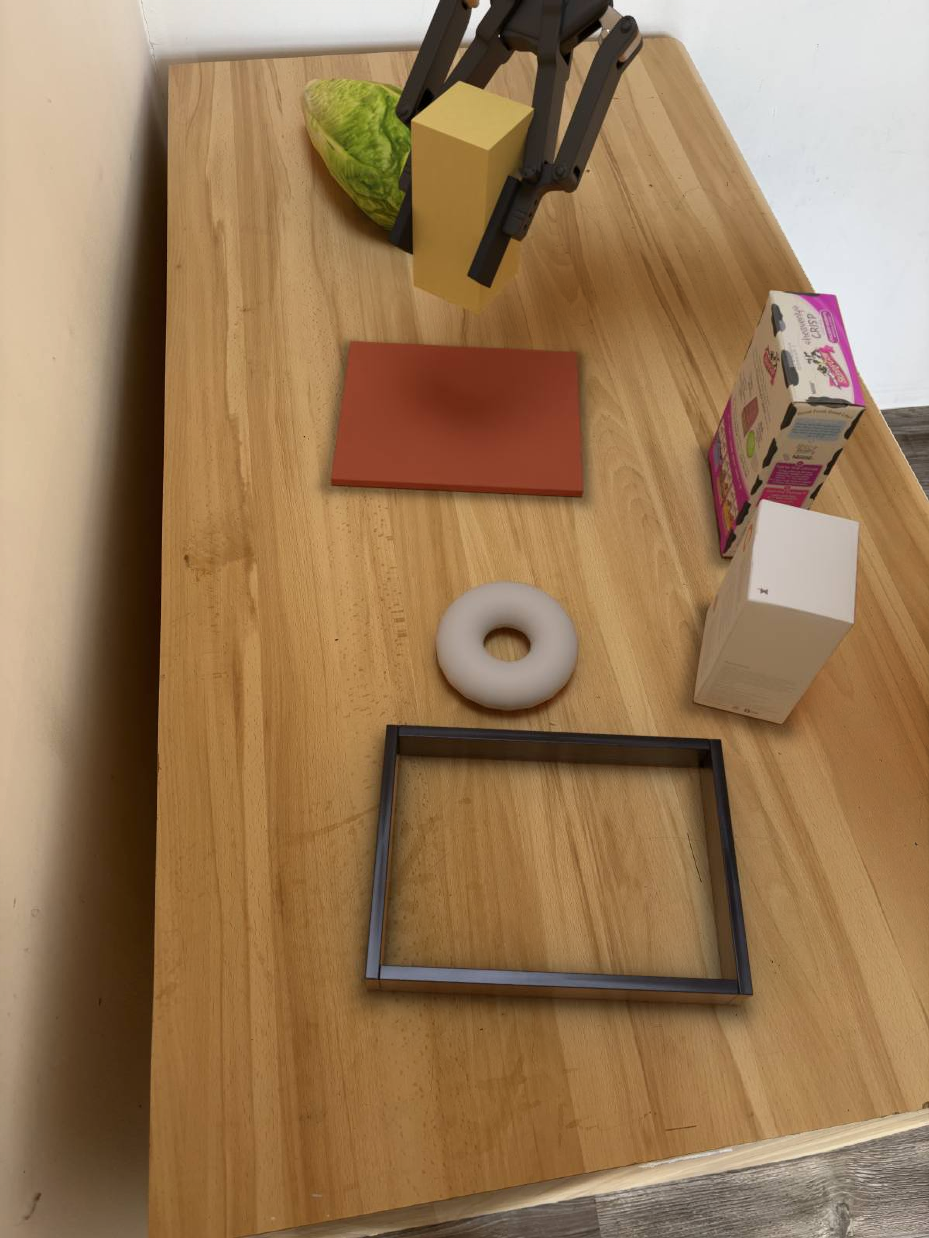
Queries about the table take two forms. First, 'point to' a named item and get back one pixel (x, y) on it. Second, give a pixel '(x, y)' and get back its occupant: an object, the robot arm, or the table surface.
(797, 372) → the candy bar box
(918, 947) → the table surface
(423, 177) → the carton
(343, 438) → the mat
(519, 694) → the donut
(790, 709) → the small box
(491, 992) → the frame
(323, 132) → the lettuce
